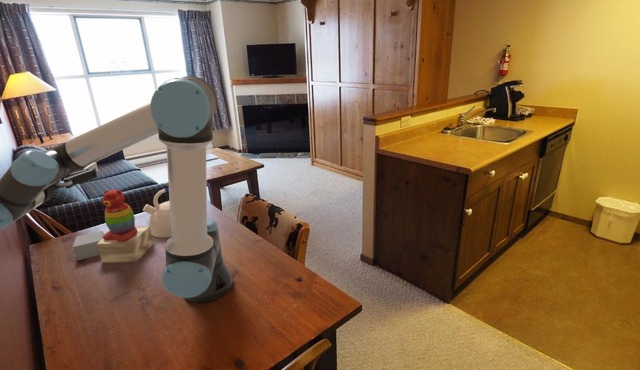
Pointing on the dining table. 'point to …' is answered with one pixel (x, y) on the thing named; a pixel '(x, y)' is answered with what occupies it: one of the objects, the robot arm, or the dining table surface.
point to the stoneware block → (87, 245)
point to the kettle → (159, 217)
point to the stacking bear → (118, 217)
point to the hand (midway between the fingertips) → (73, 168)
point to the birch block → (126, 247)
